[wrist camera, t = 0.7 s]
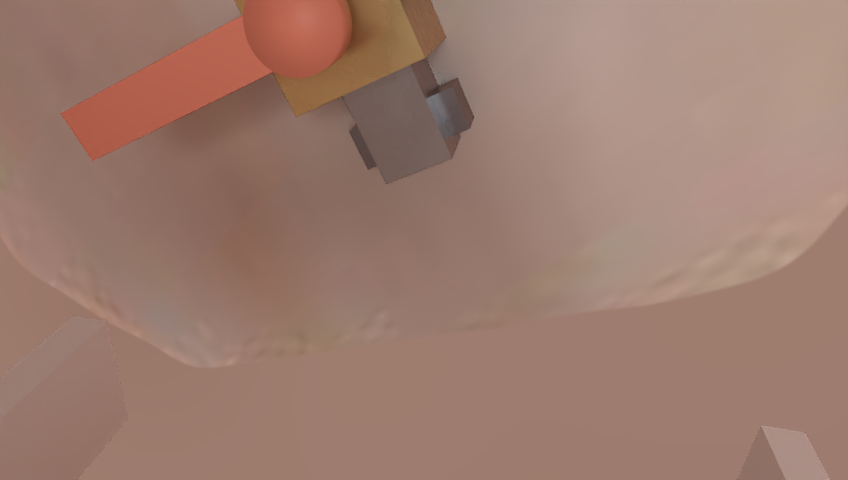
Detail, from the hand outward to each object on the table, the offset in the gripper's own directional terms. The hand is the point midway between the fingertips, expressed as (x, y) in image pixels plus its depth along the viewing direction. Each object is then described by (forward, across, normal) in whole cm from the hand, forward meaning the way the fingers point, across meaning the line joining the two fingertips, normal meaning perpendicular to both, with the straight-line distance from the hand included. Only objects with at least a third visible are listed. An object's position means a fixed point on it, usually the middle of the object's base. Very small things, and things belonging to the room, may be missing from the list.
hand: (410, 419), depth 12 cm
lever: (+16, -12, +3) cm, 20 cm away
